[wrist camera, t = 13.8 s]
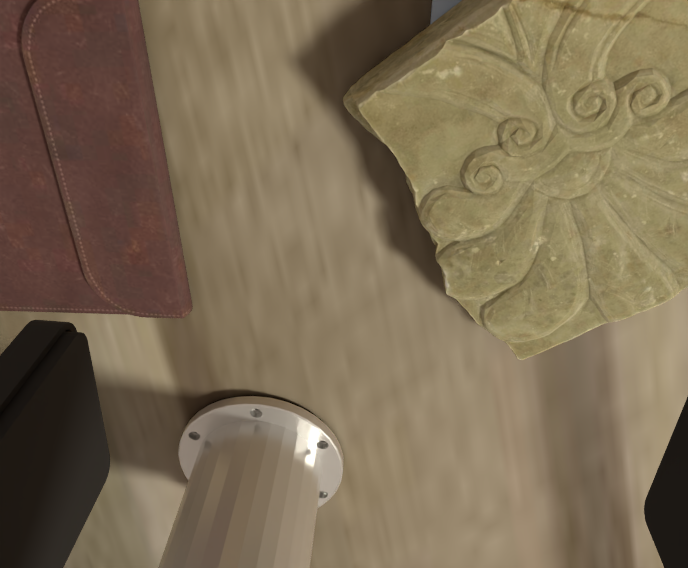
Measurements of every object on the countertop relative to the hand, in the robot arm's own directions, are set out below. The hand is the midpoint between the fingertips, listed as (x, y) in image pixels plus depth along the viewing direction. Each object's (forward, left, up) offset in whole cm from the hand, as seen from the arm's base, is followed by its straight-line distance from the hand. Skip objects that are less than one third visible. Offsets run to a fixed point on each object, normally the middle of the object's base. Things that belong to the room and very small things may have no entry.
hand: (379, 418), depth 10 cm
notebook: (-8, +20, -28) cm, 35 cm away
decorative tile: (-5, -10, -27) cm, 29 cm away
